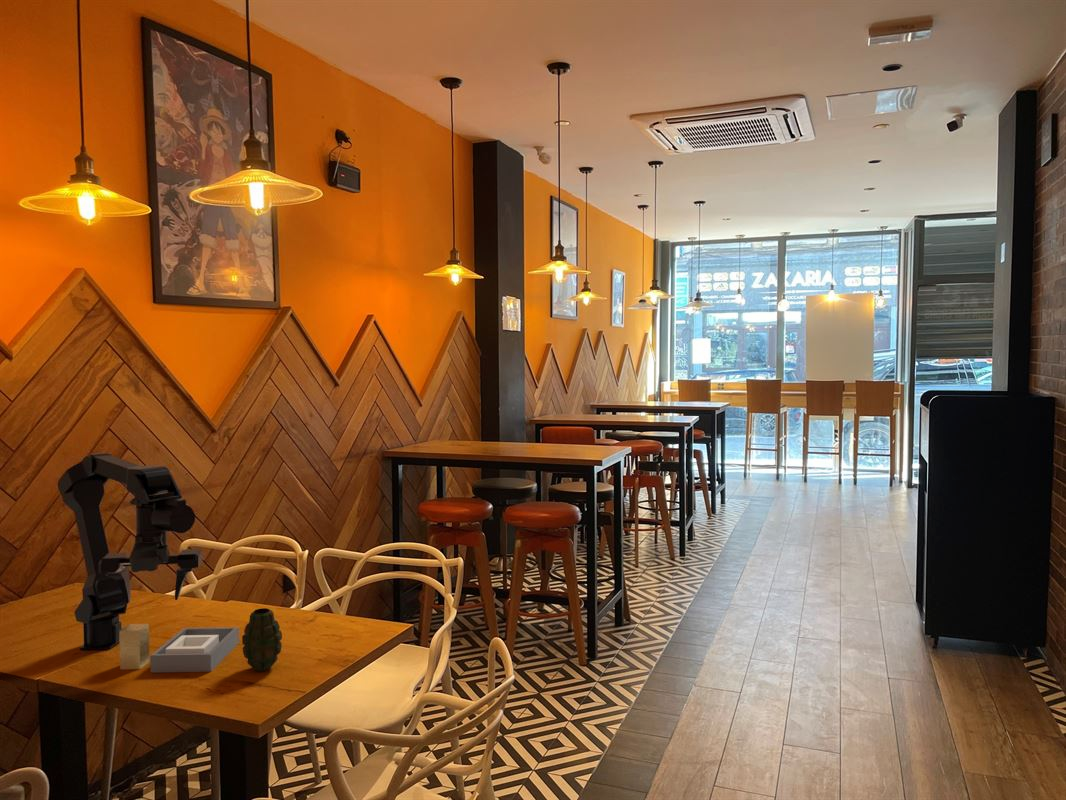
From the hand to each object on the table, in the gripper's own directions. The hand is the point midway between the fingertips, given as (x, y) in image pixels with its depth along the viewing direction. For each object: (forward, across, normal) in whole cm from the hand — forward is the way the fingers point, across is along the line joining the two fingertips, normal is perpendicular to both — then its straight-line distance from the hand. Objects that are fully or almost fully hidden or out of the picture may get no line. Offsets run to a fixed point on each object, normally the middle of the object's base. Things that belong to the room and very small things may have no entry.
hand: (152, 601), depth 157 cm
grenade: (+12, +23, -11) cm, 28 cm away
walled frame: (+12, +8, 0) cm, 15 cm away
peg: (+13, -3, -2) cm, 13 cm away
